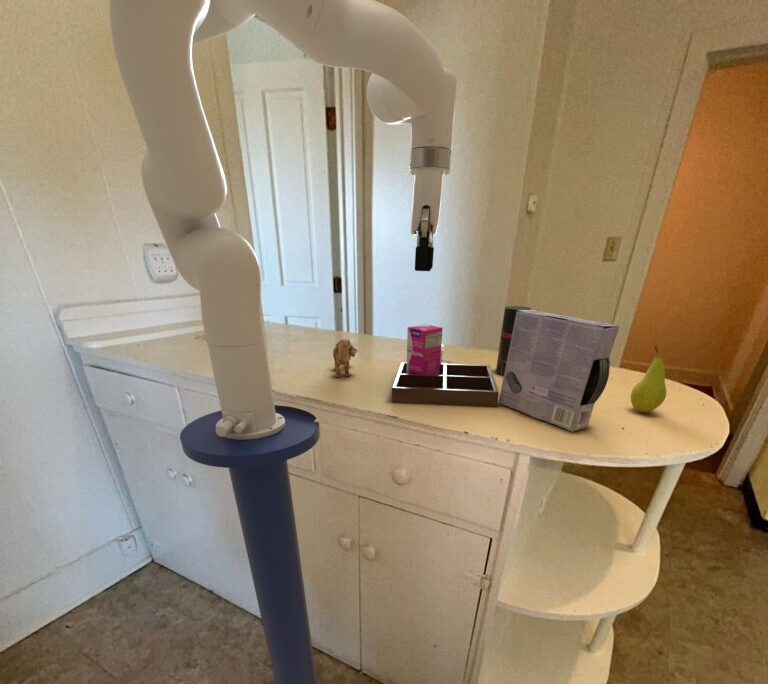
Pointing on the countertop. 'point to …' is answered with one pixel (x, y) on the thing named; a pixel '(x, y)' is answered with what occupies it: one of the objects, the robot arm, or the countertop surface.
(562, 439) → the countertop surface
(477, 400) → the grid
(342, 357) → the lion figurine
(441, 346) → the stacked layers on plate
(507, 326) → the deodorant
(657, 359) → the fruit
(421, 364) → the supplement box
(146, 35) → the robot arm
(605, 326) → the cake pan box
